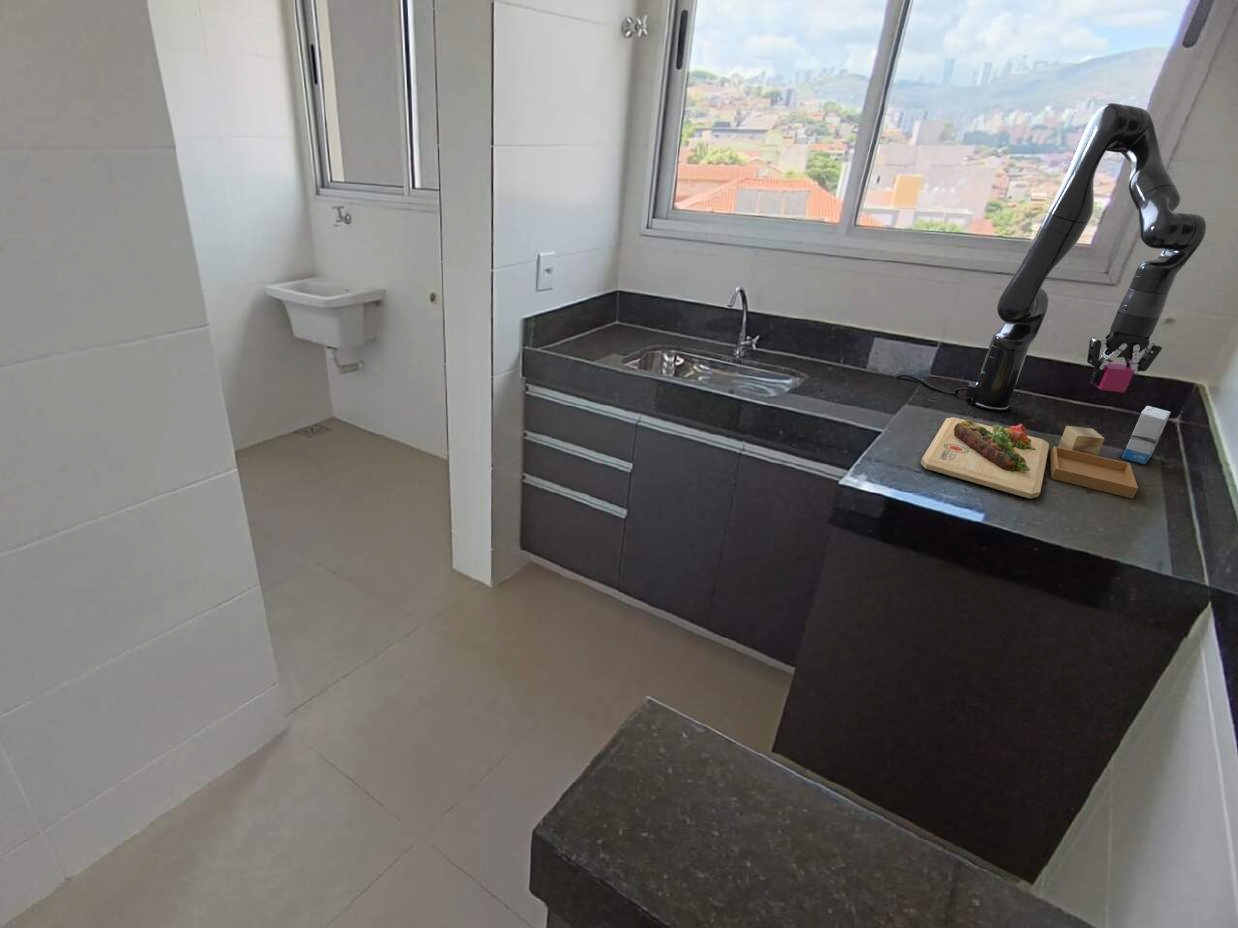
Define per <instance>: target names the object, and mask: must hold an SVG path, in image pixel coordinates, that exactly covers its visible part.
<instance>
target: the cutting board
mask: <svg viewBox="0 0 1238 928" xmlns="http://www.w3.org/2000/svg"><path fill="white" fill-rule="evenodd" d="M1049 448H1050V443H1049V442H1047V441H1046V440H1044V439H1043V438H1038V437H1035V436H1031V435H1027V428H1026V427H1025V426H1024V425H1023V424H1022V423H1019V424H1018V425H1011V426H1010V427H1009V428H1008V427H1003V426H1002V425H1000V424H994V425H993V426H991V425H990V426H989V425H986V424H983V423H979V422H975V421H972V420H971V419H962V418H958V417H947V418H945V419H944V421H943V423H942V425H941V426H940V427H939V430H938V431H937V433H936V434H935V436H934V438H933V440H932V441H931V443H930V444H929V446H928V448H927V450H925V453H924V455H923V456H922V458H921V460H920V464H921V466H922V467H923V468H924V469H926V470H929V471H933V472H935V473H939V474H943V475H945V476H949V477H953V478H956V479H960V480H962V481H963V480H964V481H966V482H971V483H974V484H977V485H981V486H985V487H988V488H990V489H991V488H992V489H995V490H999V491H1001V492H1004V493H1008V494H1012V495H1016V496H1019V497H1023V498H1026V499H1034V498H1039V497H1040V494H1041V490H1042V486H1043V480H1044V475H1045V470H1046V464H1047V459H1048V455H1049V454H1048V453H1049Z"/></svg>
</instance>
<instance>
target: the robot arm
mask: <svg viewBox="0 0 1238 928" xmlns="http://www.w3.org/2000/svg"><path fill="white" fill-rule="evenodd" d="M1106 152H1111V153H1120V154H1121V155H1122V156H1123V157H1125V159H1126V160H1127V161H1128V163H1129V165H1130V167H1131V170H1130V174H1129V175H1128V176H1129V177H1128V182H1127V190H1128V194H1129V196H1130V198H1131V201H1132V203H1133V204H1134V206H1135V209H1136V210H1137V212H1138V229H1139V231H1138V233H1139V237H1140V240H1141V242H1142V243H1143V244H1144V245H1145V246H1147V247H1149V248H1152V249H1158V250H1162V251H1161V253H1160V254H1159V255H1158V256H1157V257H1155V258H1151V259H1146V260H1143V261H1141V262H1140V263H1139V264H1138V266H1137V267H1136V269H1135V271H1134V274H1133V276H1132V278H1131V281H1130V284H1129V286H1128V288H1127V290H1126V291H1125V293H1124V295H1123V297H1122V299H1121V302H1120V304H1119V307H1118V309H1117V311H1116V313H1115V316H1114V319H1113V321H1112V323H1111V326H1110V330H1109V333H1108V334H1107V335H1106V336H1105V337H1101V338H1100V337H1099V338H1096V337H1091V338H1090V339H1089V343H1088V352H1087V359H1086V362H1087V364H1089V365H1090V366H1092V367H1093V370H1092V373H1091V376H1090V378H1089V380H1090V384H1092V385H1093V386H1095V387H1096V386H1099V384H1100V382H1101V379H1102V377H1103V375H1104V372H1105V370H1104V369H1105V368H1106V367H1107V366H1108V365H1109V364H1110V363H1113V362H1114V361H1116V359H1117V358H1123V359H1124V361H1125V366H1126V367H1128V368H1129V369H1131V370H1133V371H1134V373H1133V375H1132V377H1131V379H1130V382H1129V384H1128V386H1127V387H1129V386H1130V385H1131V382H1132V380H1133V378H1134V376H1135V374H1136V373H1138V372H1146V371H1147V370H1148V369H1149V368H1150V367H1151V365H1152V363H1153V362H1154V361H1155V360H1156V358H1157V357H1158V355H1159V354H1160V353H1161V351H1162V350H1163V347H1162V346H1160V345H1158V344H1156V343H1154V342H1153V343H1152V342H1150V339H1151V337H1152V335H1153V334H1154V331H1155V329H1156V327H1157V324H1158V323H1159V320H1160V319H1161V316H1162V314H1163V312H1164V309H1165V307H1166V305H1167V300H1168V296H1169V294H1170V291H1171V289H1172V287H1173V284H1174V282H1175V280H1176V278H1177V275H1178V274H1179V273H1180V271H1181V270H1182V269H1183V267H1184V266H1185V265H1186V264H1187V262H1188V261H1189V260H1190V259H1191V257H1193V255H1194V254H1195V252H1196V251H1197V250H1198V248H1199V247H1200V246H1201V244H1202V242H1203V241H1204V239H1205V236H1206V234H1207V229H1208V228H1207V227H1208V226H1207V221H1206V219H1205V218H1204V216H1202V215H1200V214H1197V213H1188V212H1187V213H1186V212H1175V210H1176V209H1177V208H1178V207H1179V206H1180V204H1181V200H1182V199H1181V193H1180V191H1179V190H1178V187H1177V186H1176V184H1175V182H1174V181H1173V178H1172V177H1171V175H1170V174H1169V171H1168V169H1167V167H1166V165H1165V163H1164V159H1163V156H1162V153H1161V147H1160V144H1159V141H1158V136H1157V133H1156V128H1155V125H1154V120H1153V117H1152V116H1151V114H1150V113H1149V111H1148V110H1146V109H1145V108H1142V107H1138V106H1133V105H1128V104H1121V103H1115V102H1110V103H1107V104H1104V105H1102V106H1101V107H1100V108H1099V109H1098V110H1097V111H1096V112H1095V113H1094V114H1093V116H1092V117H1091V119H1089V122H1088V123H1087V125H1086V127H1085V130H1084V132H1083V134H1082V136H1081V139H1080V141H1079V144H1078V147H1077V149H1076V151H1075V154H1074V156H1073V159H1072V161H1071V163H1070V166H1069V168H1068V170H1067V172H1066V175H1065V177H1064V178H1063V181H1062V183H1061V185H1060V187H1059V189H1058V191H1057V193H1056V195H1055V197H1054V199H1053V201H1052V203H1051V204H1050V206H1049V208H1048V210H1047V212H1046V213H1045V216H1044V217H1043V220H1042V221H1041V223H1040V225H1039V228H1038V230H1037V232H1036V234H1035V236H1034V238H1033V240H1032V241H1031V243H1030V246H1029V247H1028V249H1027V251H1026V253H1025V255H1024V257H1023V259H1022V261H1021V262H1020V264H1019V267H1018V268H1017V270H1016V272H1015V273H1014V274H1013V276H1012V277H1011V279H1010V280H1009V282H1008V284H1007V286H1006V287H1005V288H1004V289H1003V291H1002V293H1001V295H1000V297H999V299H998V302H997V306H996V309H997V314H998V317H999V318H1000V320H1001V321H1003V324H1002V325H1001V327H1000V328H999V329H998V330H996V331H995V332H993V335H992V337H991V340H990V343H989V346H988V349H987V352H986V356H985V358H984V361H983V364H982V367H981V369H980V372H979V375H978V379H977V381H976V382H973V381H969V383H968V386H967V387H958V388H956V389H955V391H954V392H951V391H946V390H943V389H941V388H938V387H936V386H934V385H931V384H930V383H928V381H926V380H923V379H920V378H918V377H916V376H913V375H911V374H907V373H906V374H905V373H904V374H898V375H896V376H895V377H894V378H895V379H899V378H909V379H912V380H914V381H916V382H919V383H922V384H924V385H925V386H927V387H929V388H930V389H932V390H934V391H937V392H939V393H941V394H947V395H951V396H954V395H957V394H958V392H959V391H966V392H965V397H966V398H971V400H970V405H972V406H975V407H978V408H981V409H982V410H983V409H984V410H986V411H993V412H1004V411H1008V410H1009V406H1010V403H1011V400H1012V397H1013V394H1014V391H1015V388H1016V386H1017V382H1018V380H1019V377H1020V374H1021V371H1022V369H1023V366H1024V363H1025V361H1026V357H1027V354H1028V352H1029V349H1030V347H1031V344H1032V343H1033V342H1034V340H1035V339H1036V338H1037V336H1038V334H1039V332H1040V328H1041V327H1042V324H1043V321H1044V319H1045V317H1046V314H1047V311H1048V307H1049V296H1048V293H1047V291H1046V290H1045V289H1044V288H1043V287H1042V286H1043V284H1044V282H1045V281H1046V279H1047V277H1048V276H1049V275H1050V273H1051V272H1052V271H1053V270H1054V268H1055V267H1057V265H1058V264H1059V263H1061V261H1062V260H1063V259H1064V258H1065V257H1066V256H1067V254H1069V253H1070V252H1071V251H1072V249H1073V248H1074V247H1075V245H1076V244H1077V243H1078V242H1079V240H1080V238H1081V237H1082V235H1083V233H1084V231H1085V230H1086V228H1087V226H1088V224H1089V222H1090V220H1091V218H1092V216H1093V213H1094V206H1095V205H1094V204H1095V197H1094V195H1095V194H1094V193H1095V192H1094V180H1095V175H1096V172H1097V169H1098V168H1099V165H1100V163H1101V161H1102V158H1103V157H1104V155H1105V153H1106ZM1104 346H1105V347H1106V348H1105V349H1104V350H1103V351H1102V353H1101V349H1102V348H1103V347H1104ZM1143 351H1144V353H1143V354H1142V355H1141V357H1140V353H1141V352H1143Z"/></svg>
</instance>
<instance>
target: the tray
mask: <svg viewBox="0 0 1238 928" xmlns="http://www.w3.org/2000/svg"><path fill="white" fill-rule="evenodd" d="M1051 449H1052V450H1051V452H1050V454H1049V461H1050V462H1049V463H1050V475H1051V479H1052V480H1055V481H1060V482H1064V483H1067V484H1071V485H1075V486H1080V487H1083V488H1087V489H1092V490H1096V491H1100V492H1104V493H1108V494H1112V495H1117V496H1121V497H1124V498H1128V499H1132V500H1133V499H1134V498H1135V496H1136V494H1137V492H1138V490H1139V486H1138V484H1137V480H1136V477H1135V474H1134V471H1133V467H1132V465H1131V463H1130V462H1126V461H1122V460H1116V459H1113V458H1108V457H1103V456H1099V455H1097V456H1095V455H1091V454H1086V453H1082V452H1078V451H1073V450H1069V449H1064V448H1060V447H1058V446H1055V445H1053V446H1052V448H1051Z"/></svg>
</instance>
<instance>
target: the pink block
mask: <svg viewBox="0 0 1238 928" xmlns="http://www.w3.org/2000/svg"><path fill="white" fill-rule="evenodd" d="M1104 370H1105V372H1104V375H1103V377H1102V379H1101V382H1100V384H1099V386H1095V387H1096V388H1098V390H1100V391H1107V392H1117V393H1126V391H1127V388H1128V387H1129V386H1128V384H1129V382H1130V379H1131V377H1132V375H1133V373H1134V371H1133V370H1131V369H1129V368H1128V367H1126V365H1125V364H1122V363H1113V362H1111V363H1110V364H1109V365H1108V366H1107V367H1106V368H1105V369H1104Z"/></svg>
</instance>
